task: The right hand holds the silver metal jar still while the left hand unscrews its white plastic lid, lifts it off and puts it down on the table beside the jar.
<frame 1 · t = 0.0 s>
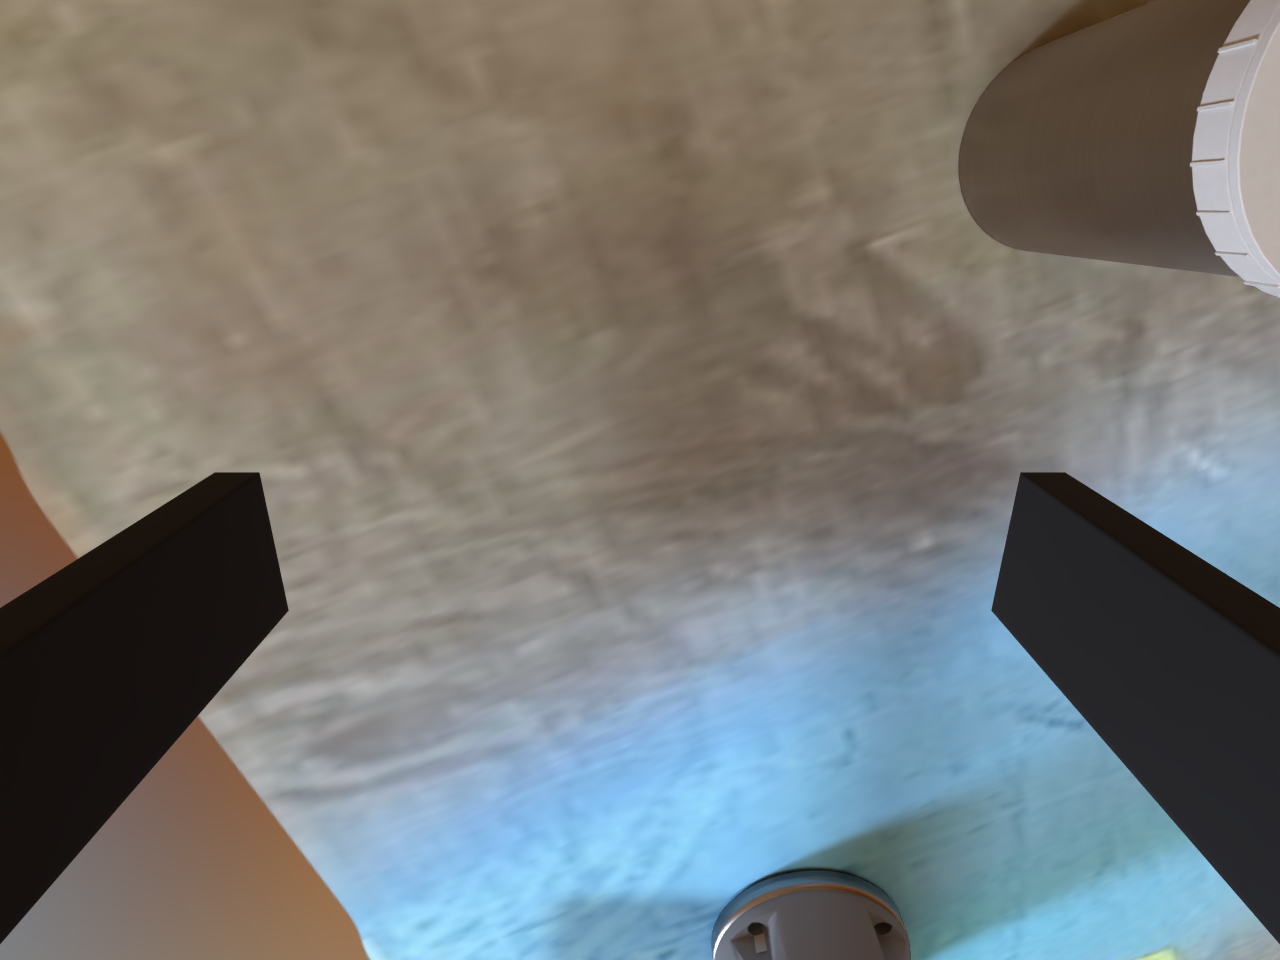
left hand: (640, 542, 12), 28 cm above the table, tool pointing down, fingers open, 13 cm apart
jar: (1056, 149, 36), on the table
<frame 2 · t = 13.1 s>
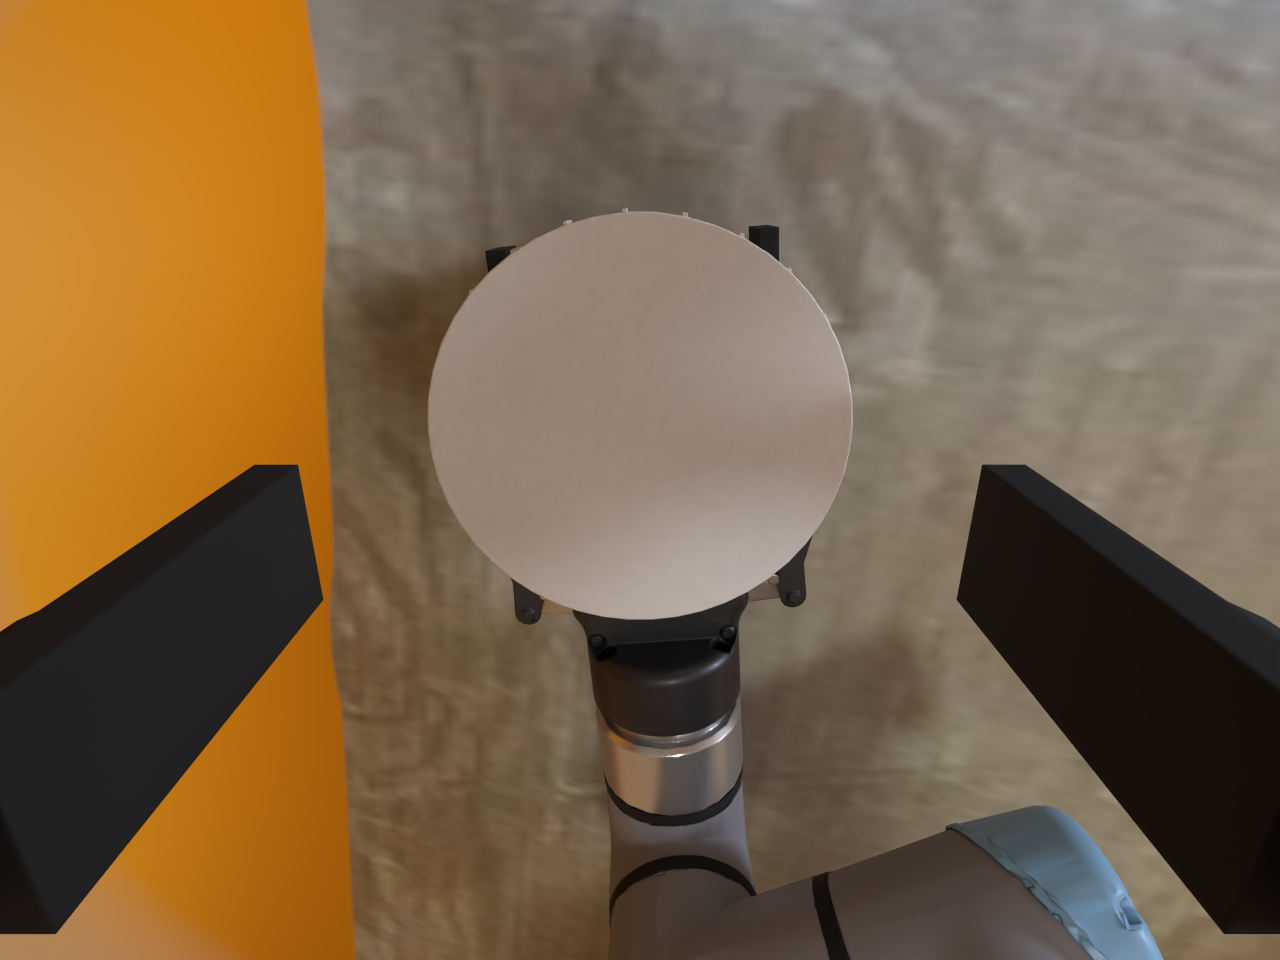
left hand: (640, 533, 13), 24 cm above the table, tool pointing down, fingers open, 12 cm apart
lid: (640, 434, 18), point 18 cm above the table, screwed on, not yet turned
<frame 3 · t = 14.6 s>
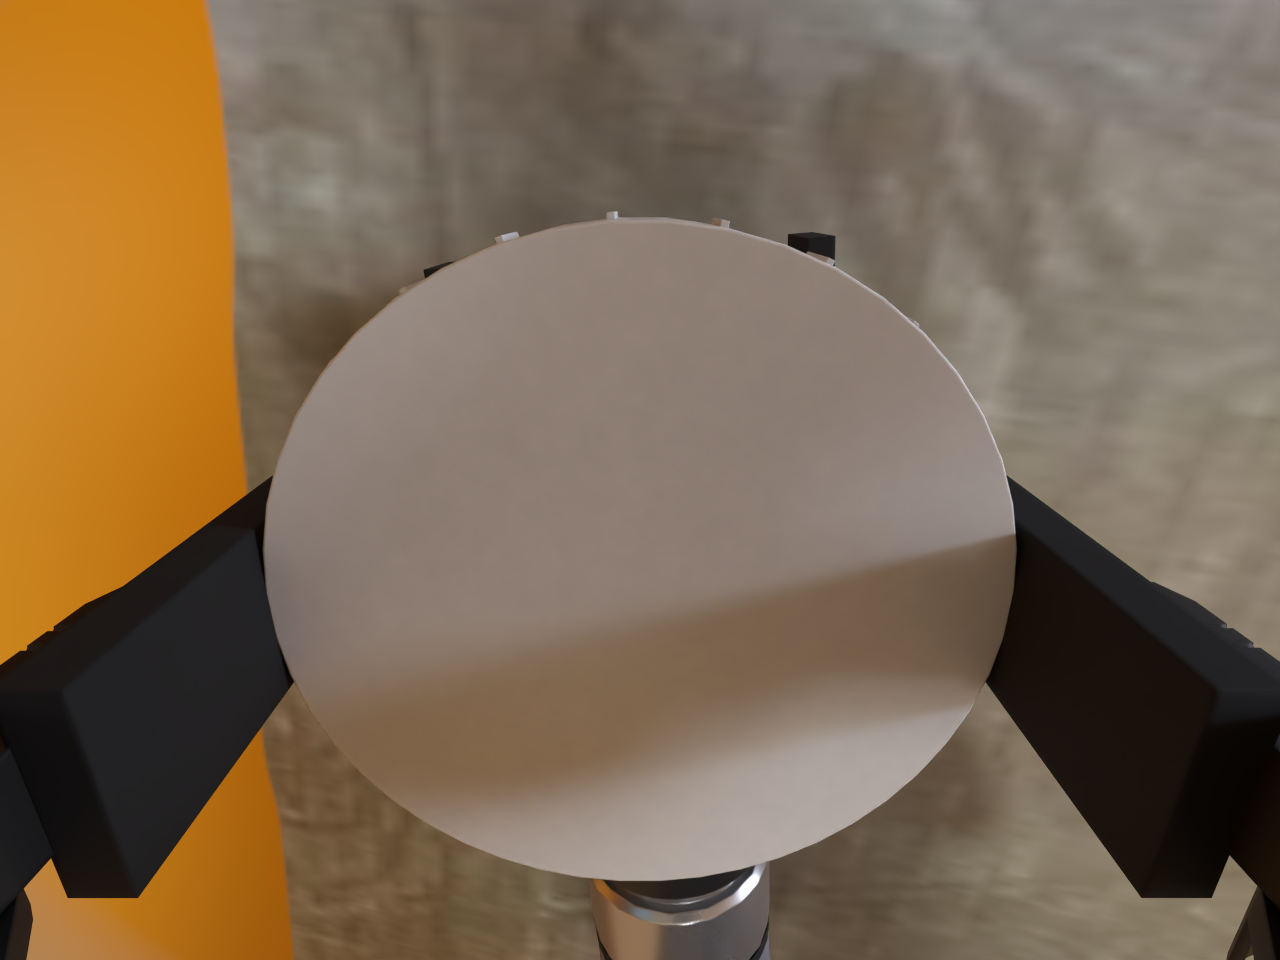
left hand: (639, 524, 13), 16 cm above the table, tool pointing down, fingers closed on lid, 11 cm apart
lid: (639, 602, 11), point 18 cm above the table, screwed on, not yet turned, touching left hand
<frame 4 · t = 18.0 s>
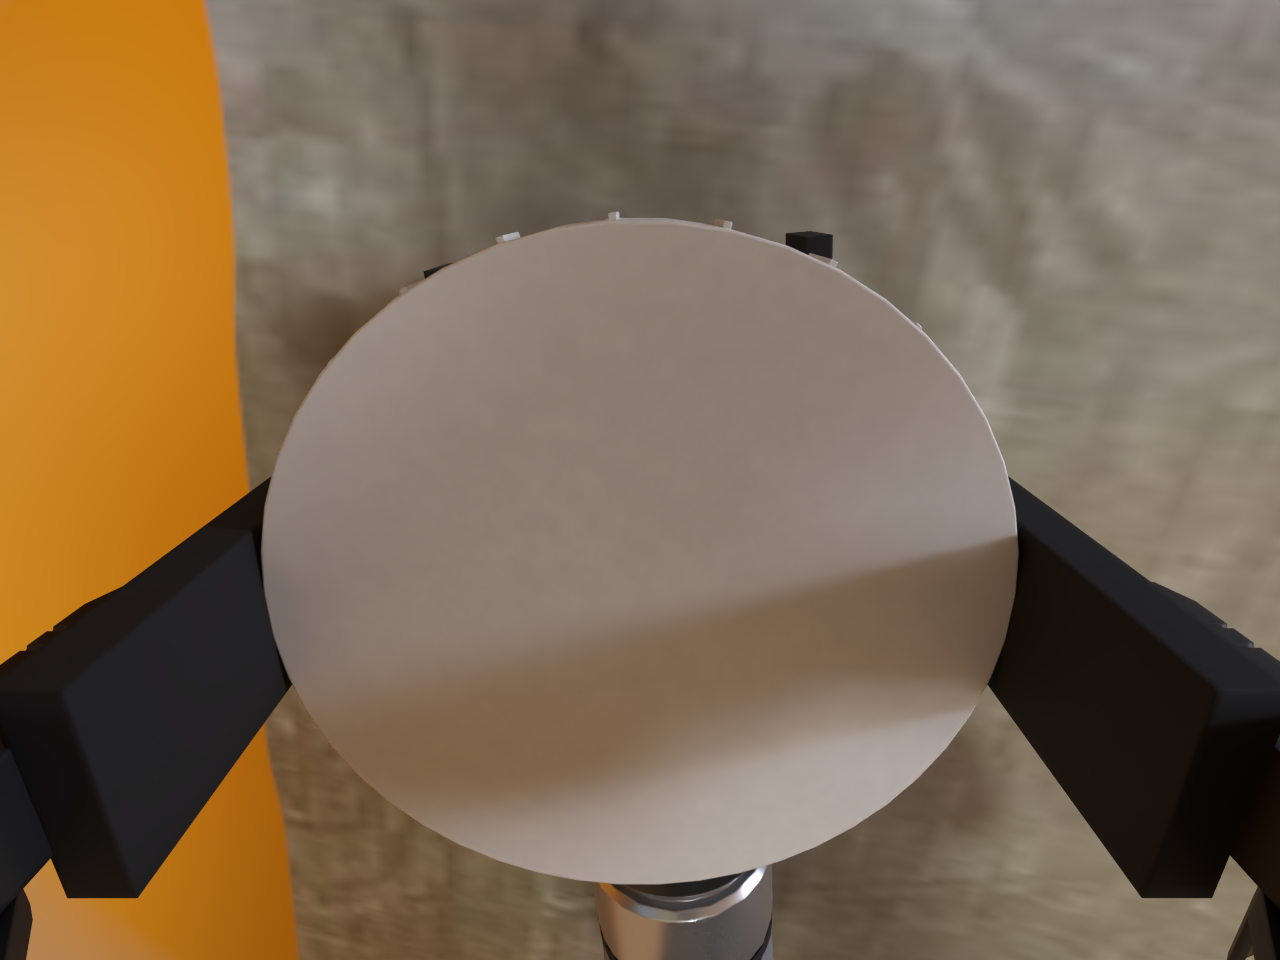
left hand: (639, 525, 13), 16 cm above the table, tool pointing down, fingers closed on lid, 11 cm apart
lid: (639, 604, 11), point 19 cm above the table, turned 104° so far, risen 0.2 cm, still on its thread, touching left hand
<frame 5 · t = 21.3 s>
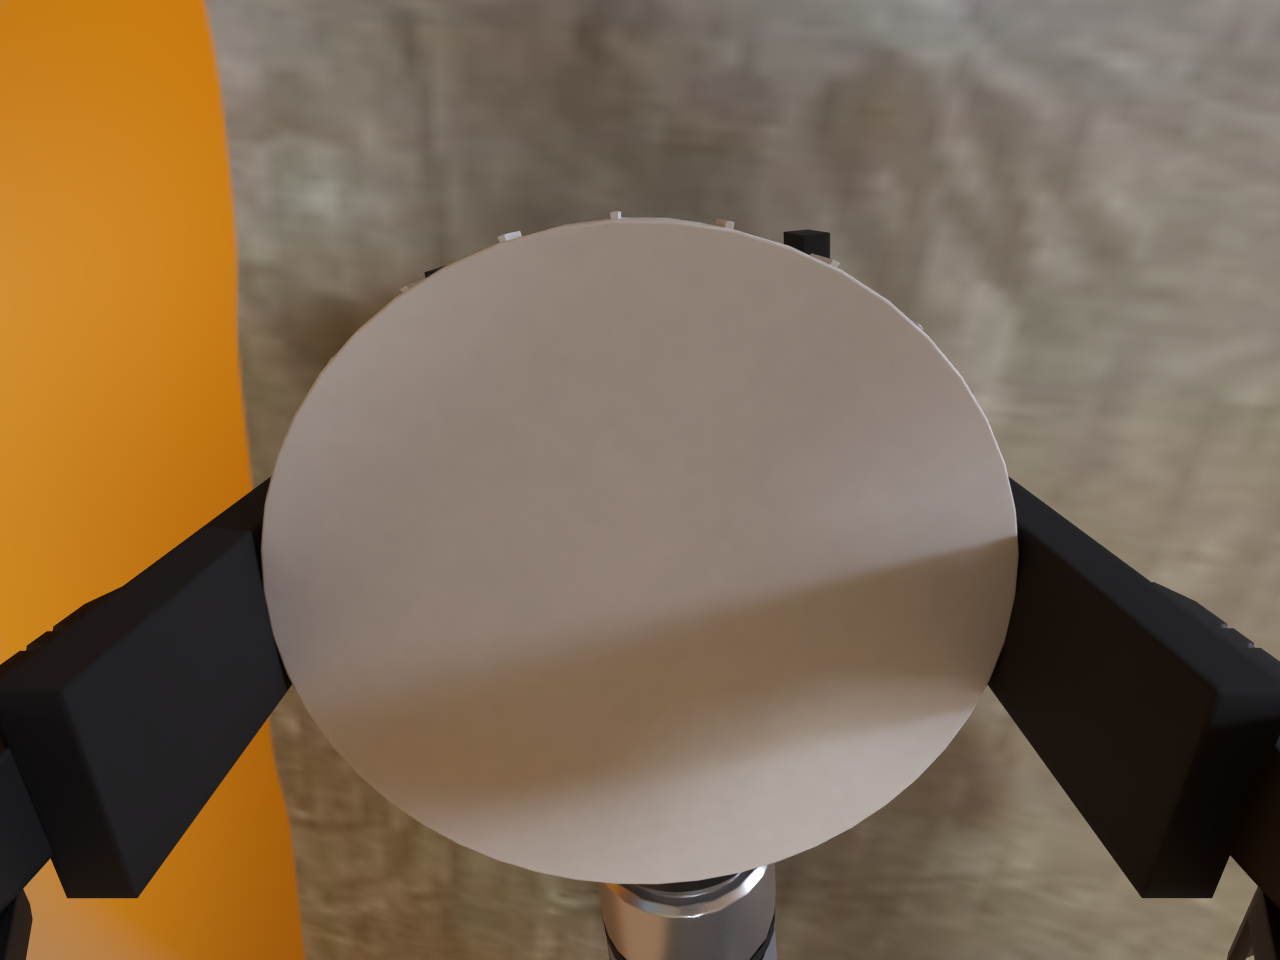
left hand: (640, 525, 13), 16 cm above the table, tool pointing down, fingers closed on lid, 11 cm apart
lid: (639, 604, 11), point 19 cm above the table, turned 209° so far, risen 0.3 cm, still on its thread, touching left hand
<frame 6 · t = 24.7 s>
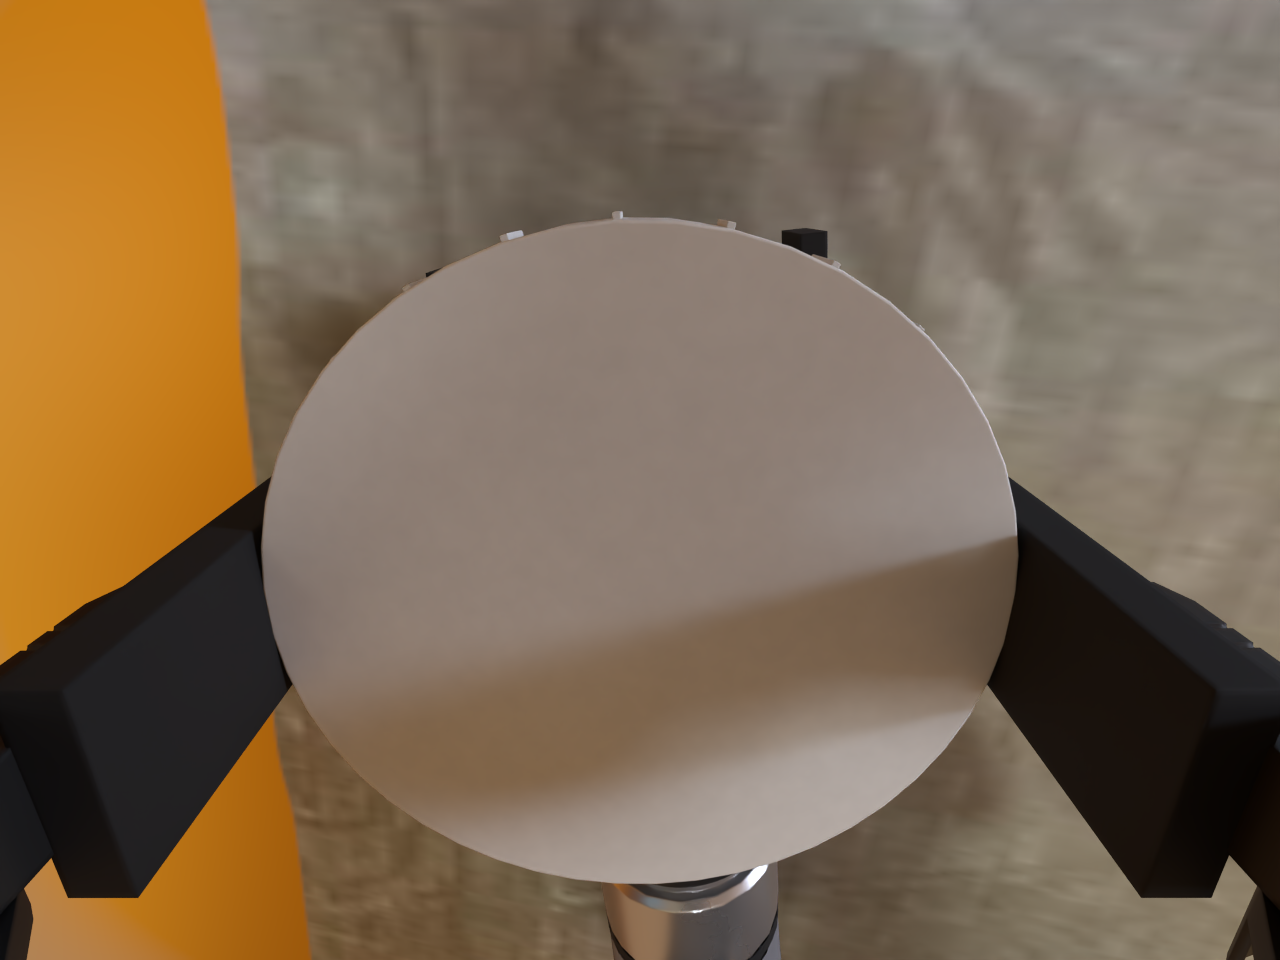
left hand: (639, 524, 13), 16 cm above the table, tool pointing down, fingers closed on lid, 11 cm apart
lid: (639, 604, 11), point 19 cm above the table, turned 313° so far, risen 0.5 cm, still on its thread, touching left hand
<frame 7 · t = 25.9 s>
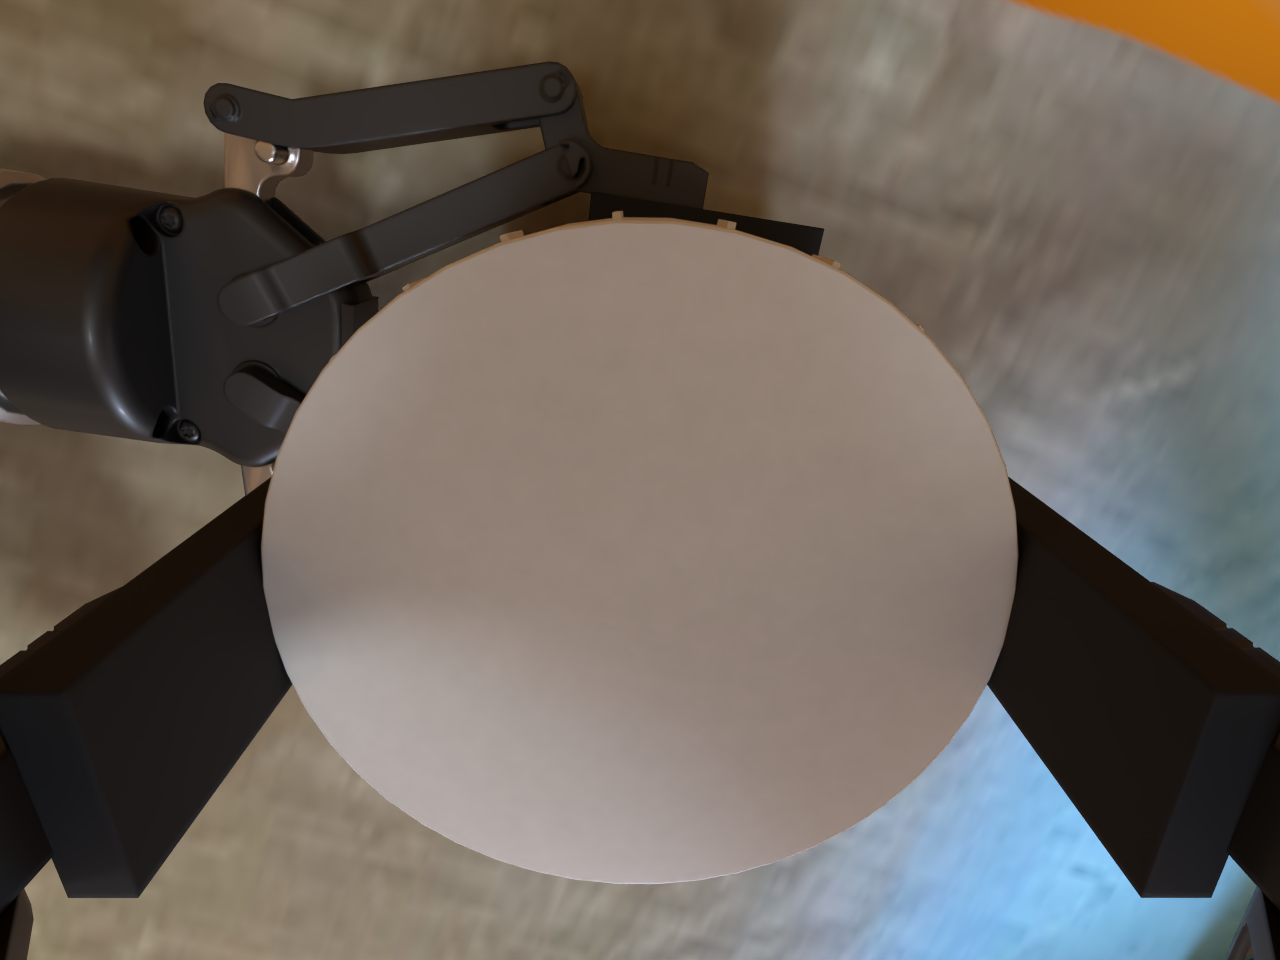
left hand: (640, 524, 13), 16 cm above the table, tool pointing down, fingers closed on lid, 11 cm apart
right hand: (772, 409, 23), fingers closed on jar, 10 cm apart
lid: (639, 604, 11), point 19 cm above the table, off its thread, touching left hand
when the left hand's fingers open (0 cm above the table, at t = 31.6 s): lid drops 2 cm, point 1 cm above the table.
when the right hand's fingers open (6 cm above the table, at t = 32.6 s): jar stays where it is, on the table.
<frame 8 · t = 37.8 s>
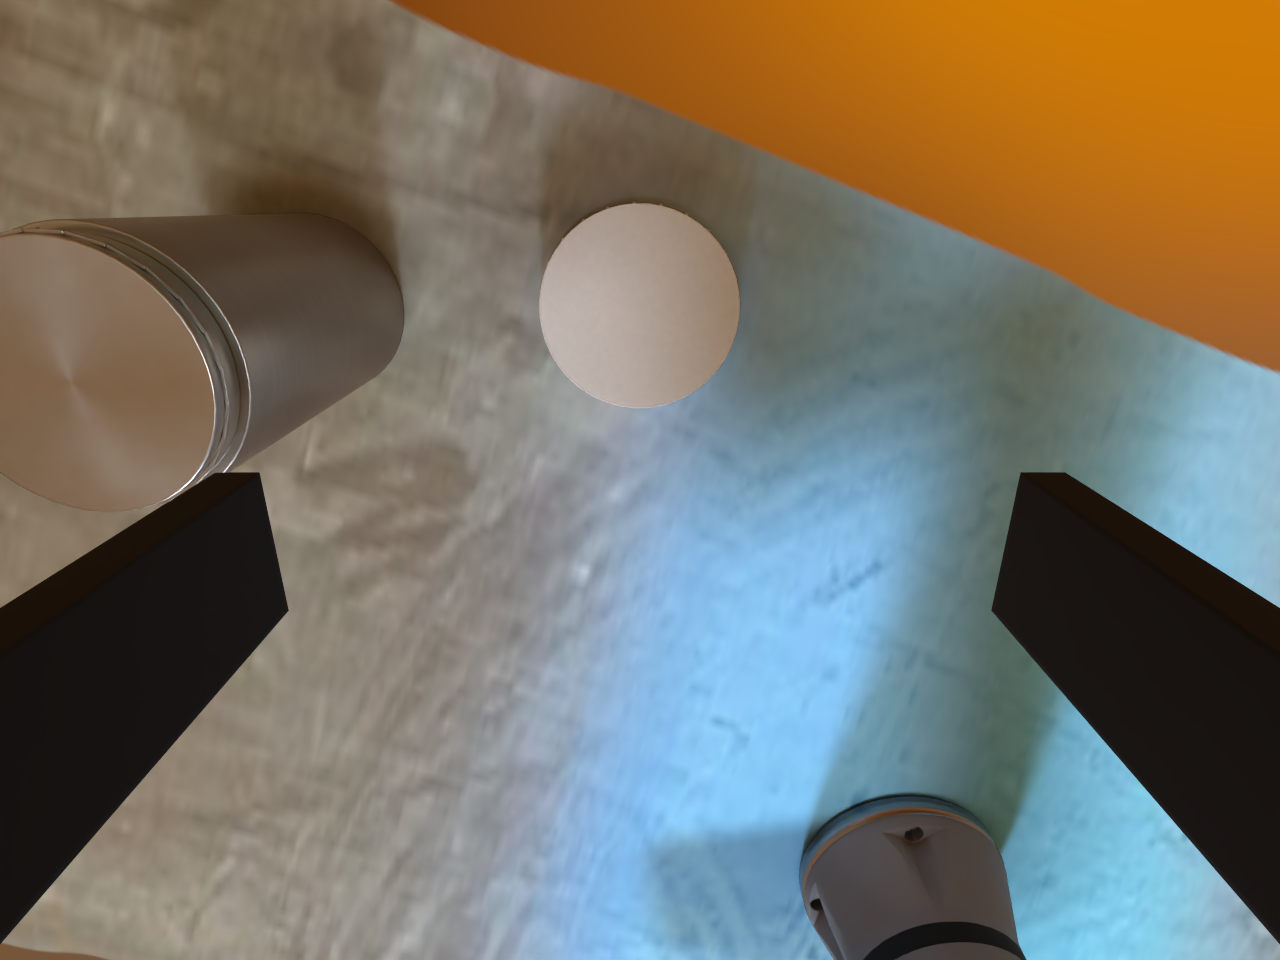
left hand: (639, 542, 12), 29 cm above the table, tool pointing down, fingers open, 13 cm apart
lid: (639, 310, 38), point 1 cm above the table, off its thread
jar: (316, 305, 40), on the table
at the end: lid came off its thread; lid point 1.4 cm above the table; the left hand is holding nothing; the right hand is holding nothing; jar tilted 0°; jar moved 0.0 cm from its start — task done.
